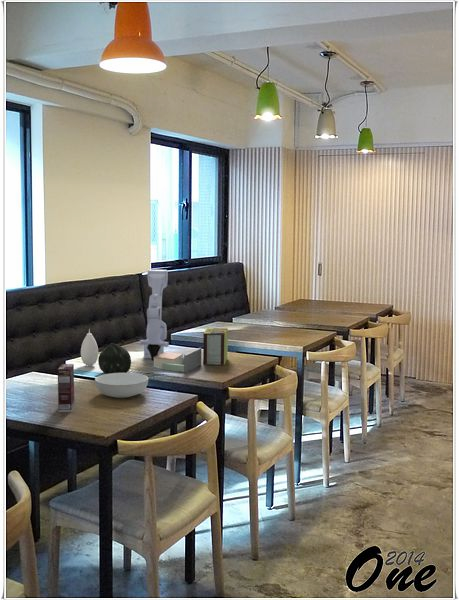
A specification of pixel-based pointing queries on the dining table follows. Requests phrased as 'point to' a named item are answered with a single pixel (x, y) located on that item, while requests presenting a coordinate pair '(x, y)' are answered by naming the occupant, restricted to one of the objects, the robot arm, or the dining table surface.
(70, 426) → the dining table surface
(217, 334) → the protein box
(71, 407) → the supplement box
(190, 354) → the grey printed box
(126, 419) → the dining table surface
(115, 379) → the serving bowl
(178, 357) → the carton
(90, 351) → the white teardrop bulb
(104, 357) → the squash
